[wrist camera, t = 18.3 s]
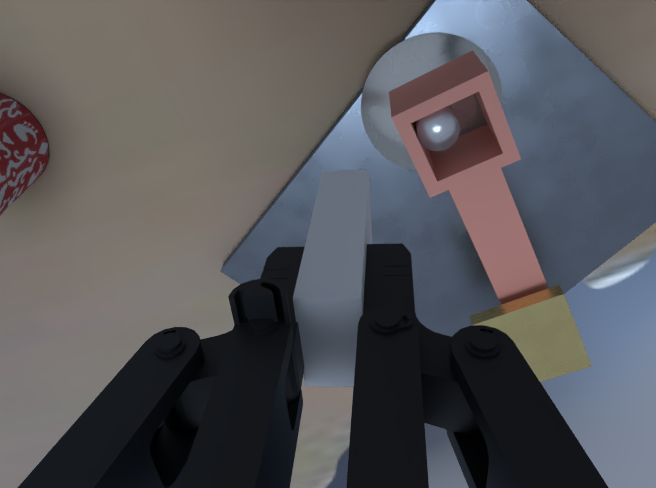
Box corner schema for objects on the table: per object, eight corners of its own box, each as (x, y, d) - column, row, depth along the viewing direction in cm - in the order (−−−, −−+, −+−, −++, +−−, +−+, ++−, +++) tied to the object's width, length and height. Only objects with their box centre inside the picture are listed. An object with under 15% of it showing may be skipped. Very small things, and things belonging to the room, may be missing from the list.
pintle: (429, 79, 34) (437, 102, 30) (457, 102, 35) (468, 127, 31) (404, 109, 35) (408, 134, 31) (431, 131, 36) (439, 159, 32)
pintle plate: (465, -56, 31) (468, -55, 30) (704, 169, 37) (714, 177, 36) (218, 259, 44) (214, 268, 43) (427, 389, 50) (428, 400, 49)
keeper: (455, 259, 42) (471, 325, 36) (531, 230, 41) (563, 294, 34) (485, 320, 45) (505, 392, 38) (557, 295, 43) (591, 366, 37)
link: (559, 278, 41) (581, 320, 37) (488, 303, 43) (501, 346, 39) (472, 50, 33) (488, 71, 29) (388, 91, 35) (391, 117, 30)
